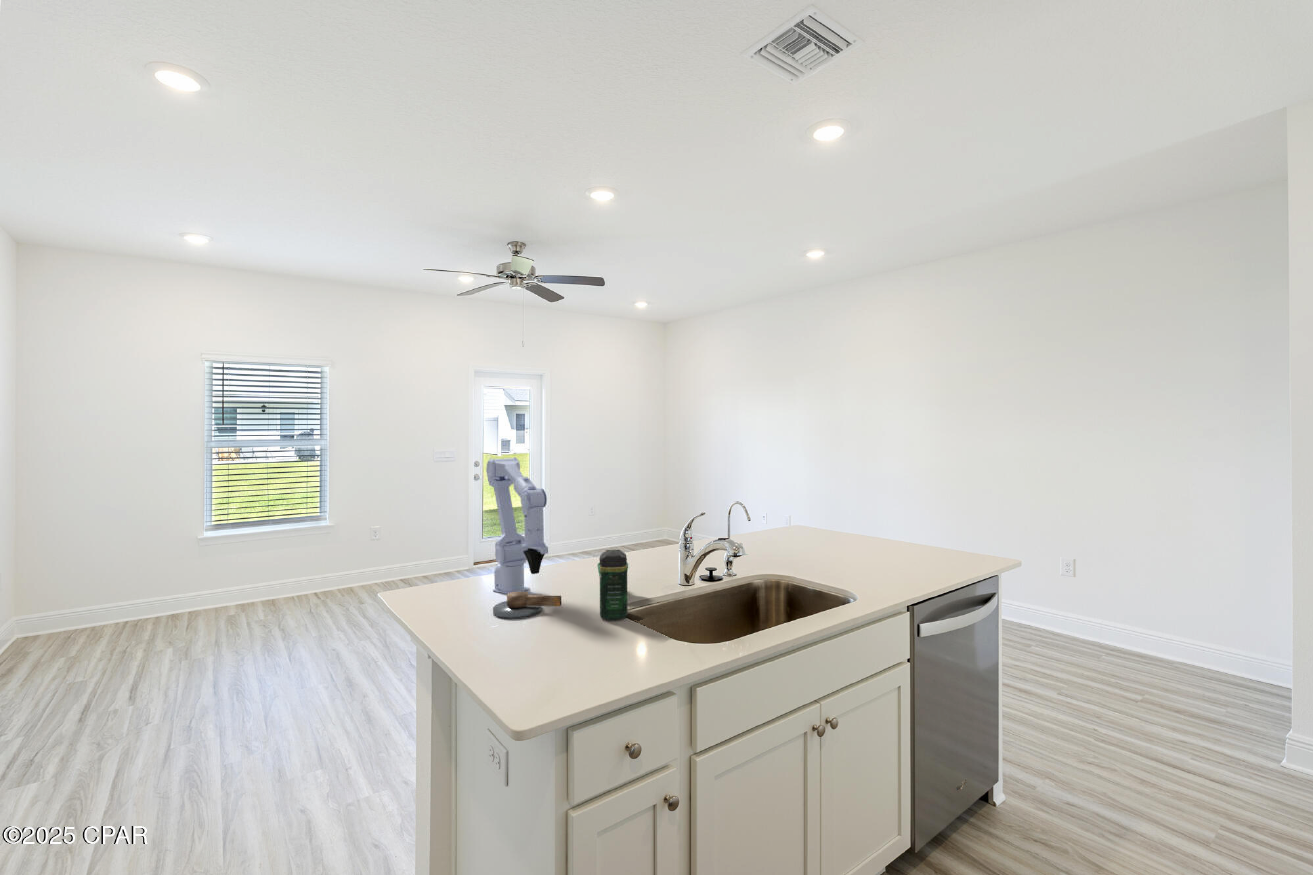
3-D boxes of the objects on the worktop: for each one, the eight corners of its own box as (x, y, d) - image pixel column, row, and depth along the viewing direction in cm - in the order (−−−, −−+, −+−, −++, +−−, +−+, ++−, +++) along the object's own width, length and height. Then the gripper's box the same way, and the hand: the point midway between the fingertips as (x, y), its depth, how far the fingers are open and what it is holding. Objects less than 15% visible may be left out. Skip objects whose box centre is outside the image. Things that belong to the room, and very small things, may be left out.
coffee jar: (628, 621, 164) (627, 554, 164) (599, 622, 164) (598, 555, 163) (627, 610, 174) (626, 547, 173) (600, 611, 173) (599, 547, 173)
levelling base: (482, 614, 172) (482, 608, 172) (517, 601, 184) (517, 595, 184) (517, 622, 165) (517, 616, 164) (551, 608, 176) (551, 602, 176)
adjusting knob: (503, 607, 172) (503, 597, 171) (511, 601, 177) (511, 591, 177) (557, 608, 170) (557, 598, 170) (563, 602, 176) (563, 592, 175)
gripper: (512, 527, 184) (512, 570, 184) (532, 534, 172) (533, 580, 173) (532, 524, 188) (533, 566, 189) (554, 531, 177) (554, 576, 177)
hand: (534, 573), depth 181 cm, fingers closed
